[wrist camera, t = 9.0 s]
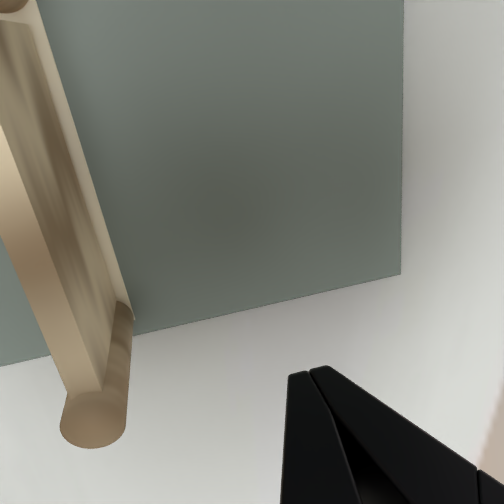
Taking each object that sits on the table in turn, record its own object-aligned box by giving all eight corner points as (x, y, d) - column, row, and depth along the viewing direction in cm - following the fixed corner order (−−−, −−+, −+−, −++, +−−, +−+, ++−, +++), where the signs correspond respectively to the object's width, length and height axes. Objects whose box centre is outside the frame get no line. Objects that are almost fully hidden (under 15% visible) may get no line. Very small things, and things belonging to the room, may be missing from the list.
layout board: (-604, -156, 11) (-636, -165, 11) (400, -243, 14) (408, -253, 14) (-176, 402, 20) (-184, 410, 19) (396, 270, 23) (401, 275, 22)
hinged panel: (-21, 31, 14) (-129, 21, 9) (43, 22, 15) (-25, 7, 9) (94, 342, 20) (71, 454, 15) (138, 332, 20) (132, 439, 15)
